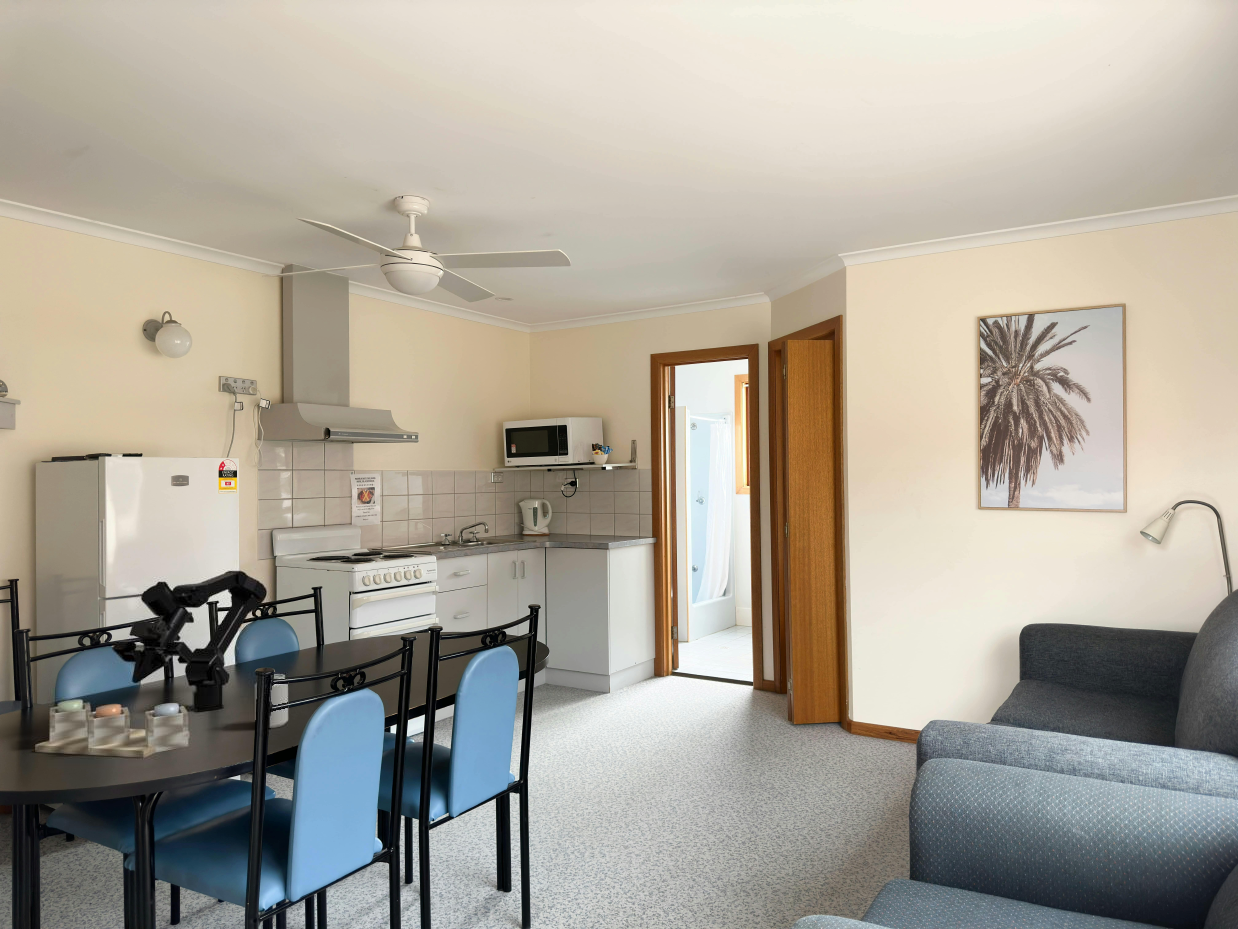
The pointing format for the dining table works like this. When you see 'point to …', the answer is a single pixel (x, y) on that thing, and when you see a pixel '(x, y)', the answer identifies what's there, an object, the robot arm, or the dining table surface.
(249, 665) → the dining table surface
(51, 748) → the button console
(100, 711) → the button terracotta
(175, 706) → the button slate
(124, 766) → the dining table surface
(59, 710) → the button sage
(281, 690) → the can
